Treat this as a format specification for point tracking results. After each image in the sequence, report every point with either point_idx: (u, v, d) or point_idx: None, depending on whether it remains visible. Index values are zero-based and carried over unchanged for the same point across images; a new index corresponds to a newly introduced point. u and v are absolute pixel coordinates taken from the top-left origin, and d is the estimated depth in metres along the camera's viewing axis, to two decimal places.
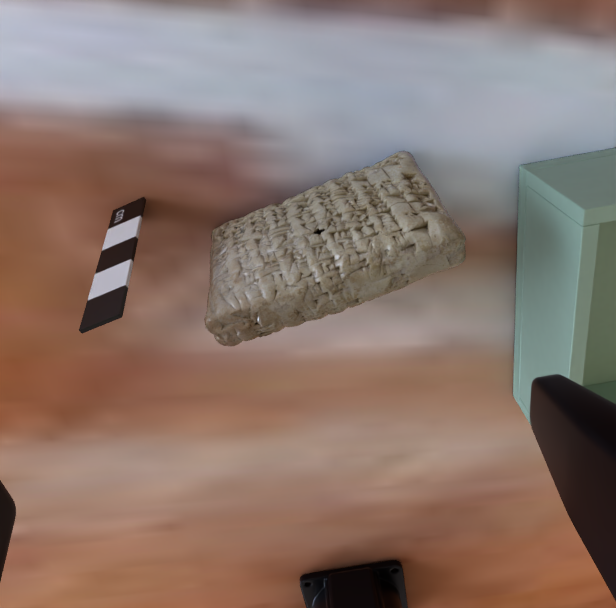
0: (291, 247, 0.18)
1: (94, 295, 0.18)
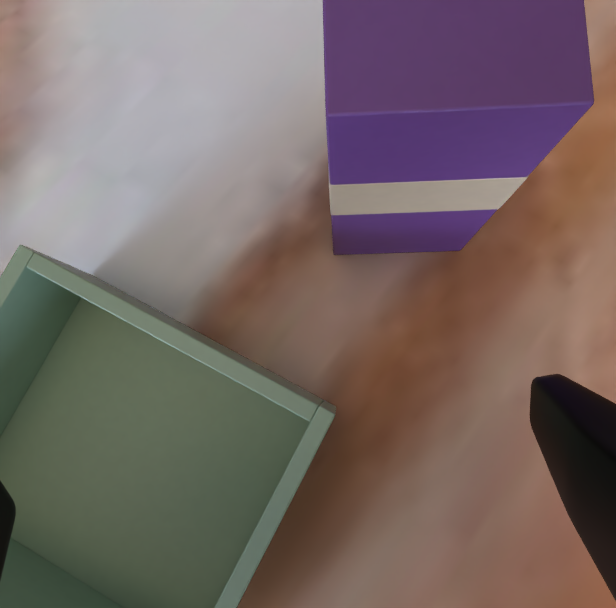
0: None
1: None
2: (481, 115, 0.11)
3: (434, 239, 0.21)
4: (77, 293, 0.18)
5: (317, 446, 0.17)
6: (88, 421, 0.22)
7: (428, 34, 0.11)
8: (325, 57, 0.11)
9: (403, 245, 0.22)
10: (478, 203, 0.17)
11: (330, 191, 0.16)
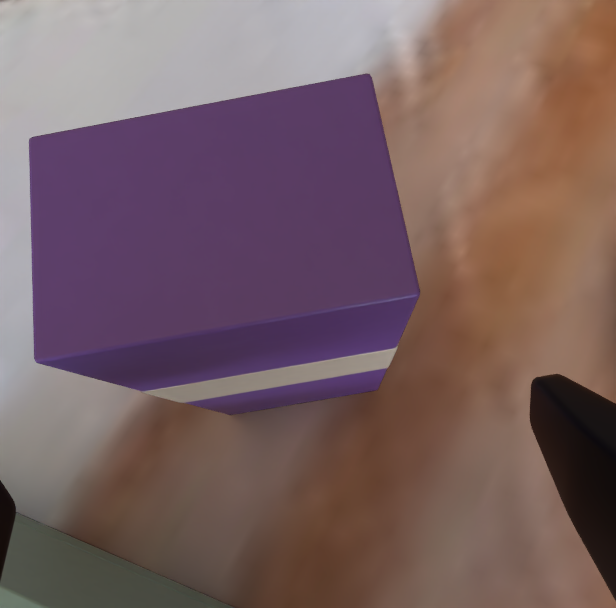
0: None
1: None
2: (264, 327, 0.08)
3: (336, 391, 0.17)
4: None
5: None
6: None
7: (174, 222, 0.08)
8: (33, 273, 0.08)
9: (304, 399, 0.18)
10: (356, 369, 0.13)
11: (150, 394, 0.12)
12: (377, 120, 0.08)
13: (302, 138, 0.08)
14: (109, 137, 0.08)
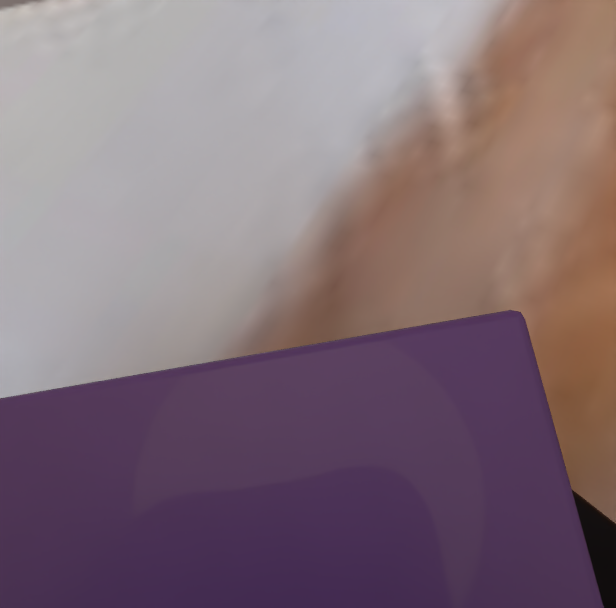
0: None
1: None
2: None
3: None
4: None
5: None
6: None
7: None
8: None
9: None
10: None
11: None
12: (550, 442, 0.03)
13: (366, 488, 0.03)
14: None
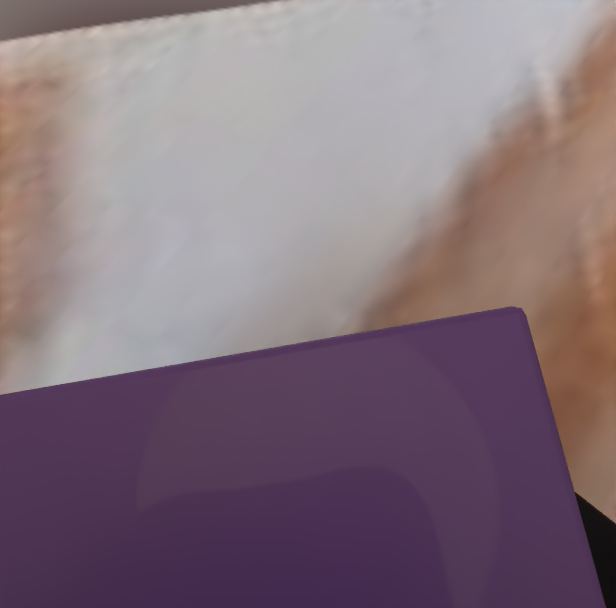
0: None
1: None
2: None
3: None
4: None
5: None
6: None
7: None
8: None
9: None
10: None
11: None
12: (551, 438, 0.03)
13: (367, 483, 0.03)
14: None
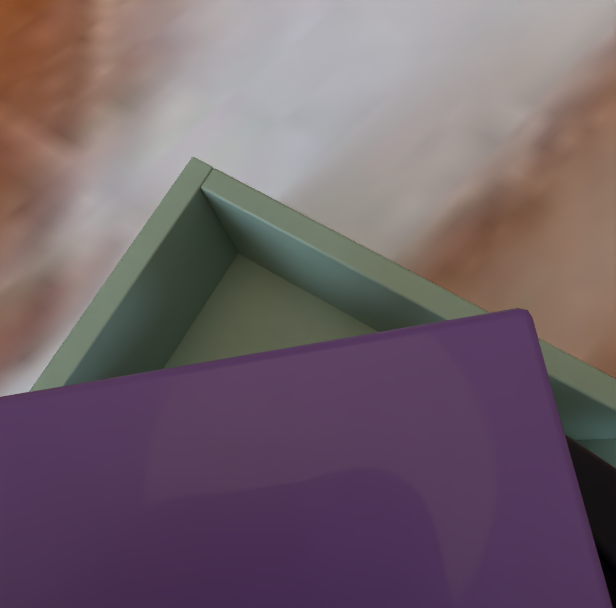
0: None
1: None
2: None
3: None
4: (277, 226, 0.12)
5: None
6: None
7: None
8: None
9: None
10: None
11: None
12: (558, 443, 0.03)
13: (371, 489, 0.03)
14: None
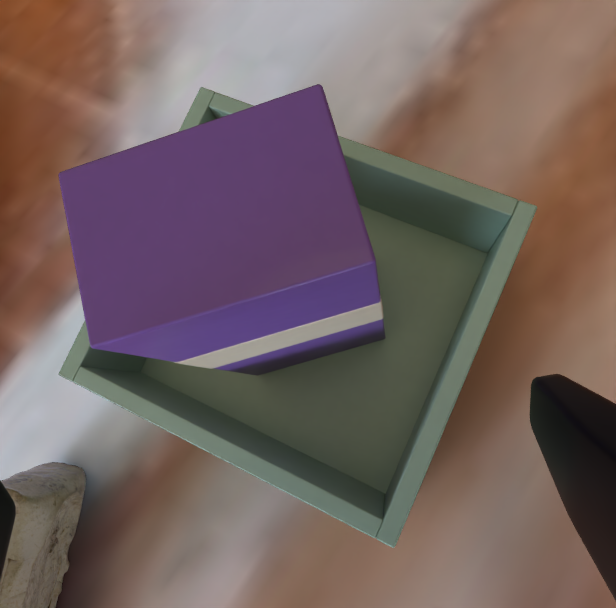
0: None
1: None
2: (260, 301, 0.10)
3: (346, 343, 0.19)
4: None
5: (522, 238, 0.17)
6: None
7: (181, 227, 0.10)
8: (78, 280, 0.10)
9: (319, 354, 0.20)
10: (354, 322, 0.15)
11: (183, 363, 0.14)
12: (330, 123, 0.10)
13: (271, 146, 0.10)
14: (120, 164, 0.10)
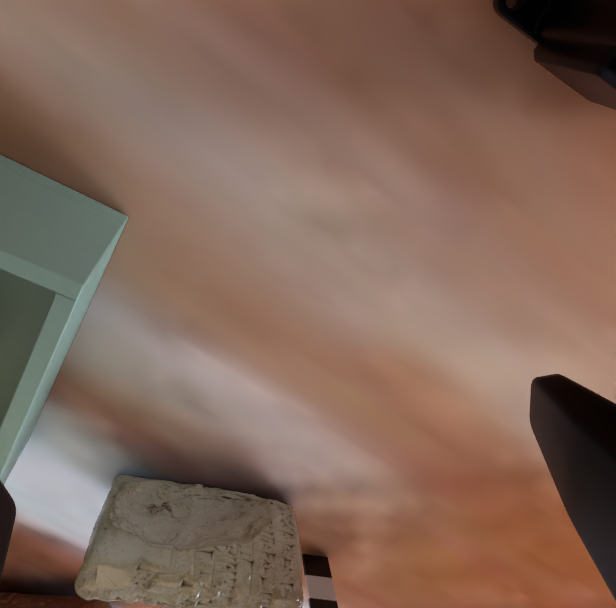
0: None
1: None
2: None
3: None
4: None
5: None
6: None
7: None
8: None
9: None
10: None
11: None
12: None
13: None
14: None
